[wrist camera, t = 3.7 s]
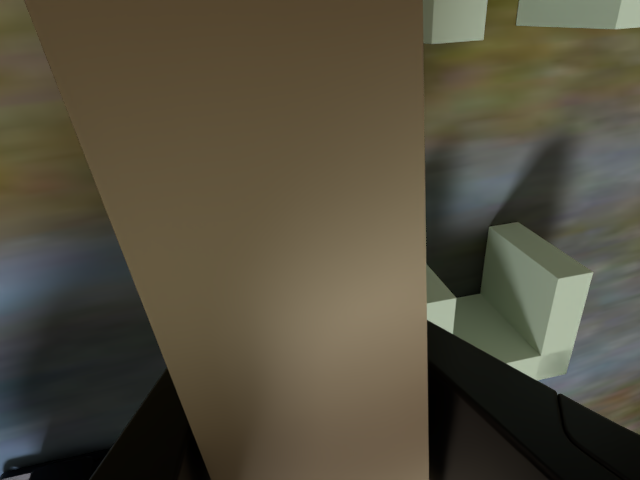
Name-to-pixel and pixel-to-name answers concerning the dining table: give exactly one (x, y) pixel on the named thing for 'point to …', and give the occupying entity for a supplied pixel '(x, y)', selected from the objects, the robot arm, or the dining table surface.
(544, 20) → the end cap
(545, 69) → the dining table surface
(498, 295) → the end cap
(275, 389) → the slat
